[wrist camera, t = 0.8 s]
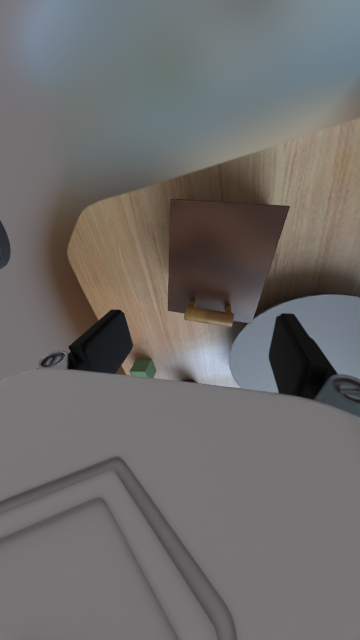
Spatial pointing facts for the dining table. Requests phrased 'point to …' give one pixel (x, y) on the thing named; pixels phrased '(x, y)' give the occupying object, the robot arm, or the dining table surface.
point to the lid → (220, 258)
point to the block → (143, 368)
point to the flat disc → (320, 324)
